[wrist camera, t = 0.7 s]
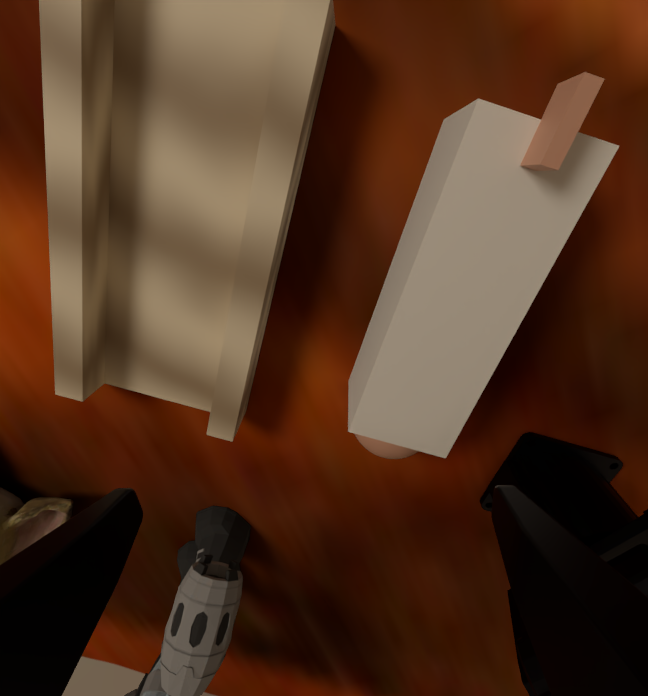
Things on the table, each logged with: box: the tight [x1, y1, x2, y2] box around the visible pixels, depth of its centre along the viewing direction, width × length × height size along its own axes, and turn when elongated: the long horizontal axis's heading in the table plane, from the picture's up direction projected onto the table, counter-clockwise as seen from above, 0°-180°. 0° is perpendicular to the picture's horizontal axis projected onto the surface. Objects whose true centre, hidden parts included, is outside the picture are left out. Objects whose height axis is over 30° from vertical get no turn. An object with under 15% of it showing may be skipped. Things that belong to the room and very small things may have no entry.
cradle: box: [39, 0, 335, 442], centre depth 18 cm, size 20×10×3 cm, turn 164°
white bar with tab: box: [348, 72, 619, 459], centre depth 17 cm, size 17×5×6 cm, turn 164°
